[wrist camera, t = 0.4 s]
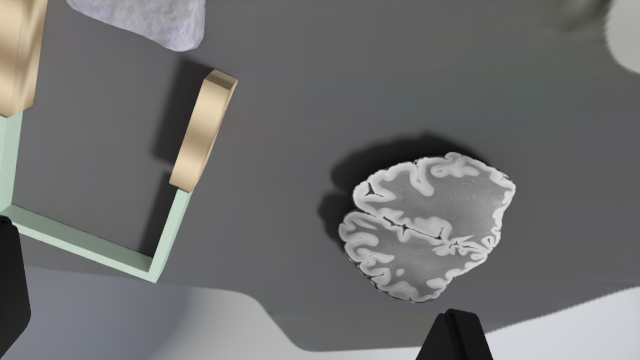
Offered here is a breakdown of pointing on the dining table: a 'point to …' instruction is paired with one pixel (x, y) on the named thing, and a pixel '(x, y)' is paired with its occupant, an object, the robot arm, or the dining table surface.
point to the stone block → (152, 19)
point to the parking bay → (3, 149)
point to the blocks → (21, 74)
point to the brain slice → (425, 223)
